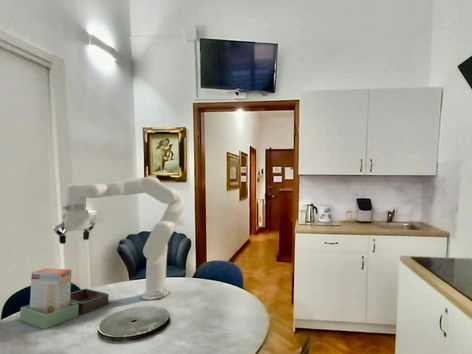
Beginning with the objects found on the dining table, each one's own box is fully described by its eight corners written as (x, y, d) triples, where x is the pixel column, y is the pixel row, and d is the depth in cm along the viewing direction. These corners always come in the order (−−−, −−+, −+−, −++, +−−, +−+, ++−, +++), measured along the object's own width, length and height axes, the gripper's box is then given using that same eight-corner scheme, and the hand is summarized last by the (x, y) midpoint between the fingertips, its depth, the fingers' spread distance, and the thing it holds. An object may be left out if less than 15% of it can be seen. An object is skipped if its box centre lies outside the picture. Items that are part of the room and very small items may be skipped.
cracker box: (70, 314, 116) (72, 268, 117) (55, 321, 110) (58, 273, 111) (43, 312, 118) (46, 267, 118) (28, 319, 112) (30, 271, 112)
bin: (78, 316, 116) (78, 303, 116) (44, 329, 105) (45, 315, 105) (53, 308, 123) (54, 296, 123) (19, 320, 112) (20, 307, 112)
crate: (109, 303, 128) (109, 293, 128) (81, 314, 117) (82, 303, 117) (85, 297, 135) (85, 288, 135) (57, 307, 124) (58, 297, 124)
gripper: (59, 209, 118) (57, 245, 118) (99, 206, 135) (98, 238, 134) (49, 209, 121) (47, 244, 120) (90, 206, 137) (89, 237, 137)
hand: (74, 241), depth 127 cm, fingers open, 9 cm apart
